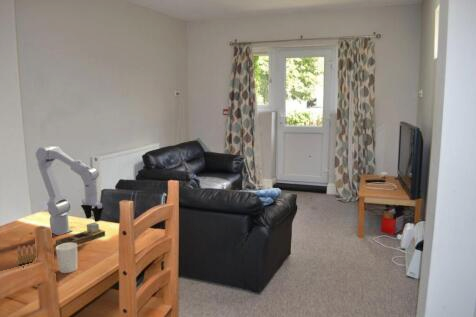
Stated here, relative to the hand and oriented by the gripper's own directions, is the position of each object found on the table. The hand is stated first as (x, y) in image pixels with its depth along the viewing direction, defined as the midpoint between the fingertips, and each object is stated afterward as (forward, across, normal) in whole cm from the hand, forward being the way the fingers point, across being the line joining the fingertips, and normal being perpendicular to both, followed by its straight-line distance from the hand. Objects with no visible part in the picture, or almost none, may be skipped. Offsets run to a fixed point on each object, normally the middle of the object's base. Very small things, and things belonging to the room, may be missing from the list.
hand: (93, 219), depth 200 cm
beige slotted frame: (+8, 0, -7) cm, 11 cm away
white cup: (+8, +26, -28) cm, 39 cm away
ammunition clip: (+8, +18, -38) cm, 42 cm away
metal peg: (+8, 0, 0) cm, 8 cm away
